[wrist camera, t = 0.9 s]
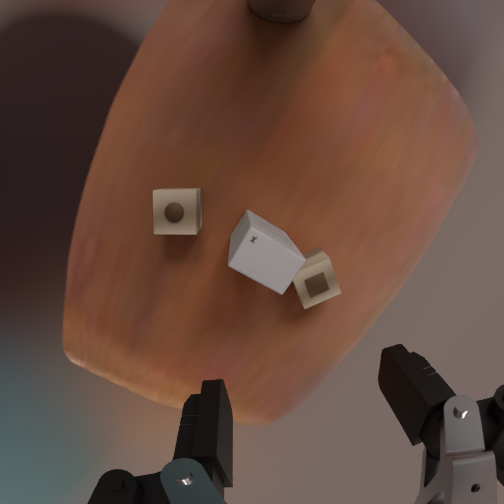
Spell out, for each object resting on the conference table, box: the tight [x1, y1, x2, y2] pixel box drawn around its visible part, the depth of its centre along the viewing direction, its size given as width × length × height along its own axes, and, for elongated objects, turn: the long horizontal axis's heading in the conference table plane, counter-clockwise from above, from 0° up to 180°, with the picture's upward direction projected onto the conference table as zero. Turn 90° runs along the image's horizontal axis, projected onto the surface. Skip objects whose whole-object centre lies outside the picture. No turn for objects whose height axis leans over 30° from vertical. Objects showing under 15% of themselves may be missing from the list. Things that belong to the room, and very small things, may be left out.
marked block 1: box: [153, 188, 202, 235], centre depth 32 cm, size 5×5×5 cm
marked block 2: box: [292, 248, 341, 309], centre depth 35 cm, size 5×5×5 cm
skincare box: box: [228, 209, 306, 295], centre depth 30 cm, size 6×4×12 cm
